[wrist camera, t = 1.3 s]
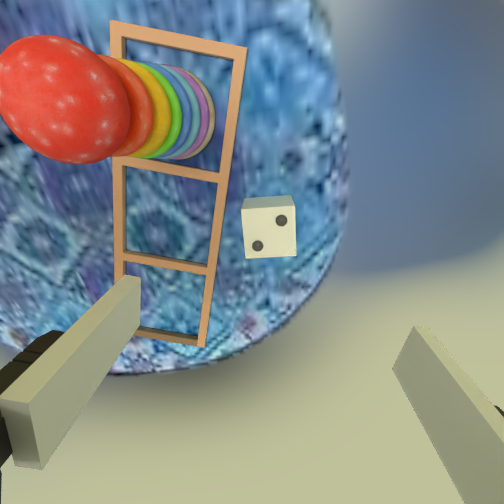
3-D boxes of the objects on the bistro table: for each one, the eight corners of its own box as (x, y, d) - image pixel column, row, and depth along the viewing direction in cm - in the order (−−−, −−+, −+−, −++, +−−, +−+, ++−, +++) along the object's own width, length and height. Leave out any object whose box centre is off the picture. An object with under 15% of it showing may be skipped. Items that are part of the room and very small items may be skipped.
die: (248, 240, 32) (245, 259, 27) (244, 198, 30) (240, 209, 26) (291, 238, 32) (296, 256, 27) (290, 194, 30) (295, 206, 25)
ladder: (118, 328, 38) (115, 332, 37) (114, 22, 25) (109, 19, 24) (205, 343, 38) (204, 347, 37) (247, 50, 25) (247, 47, 24)
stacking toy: (122, 84, 26) (-145, -10, 9) (201, 56, 25) (64, -110, 8) (155, 167, 29) (-2, 215, 12) (226, 146, 28) (167, 165, 11)
